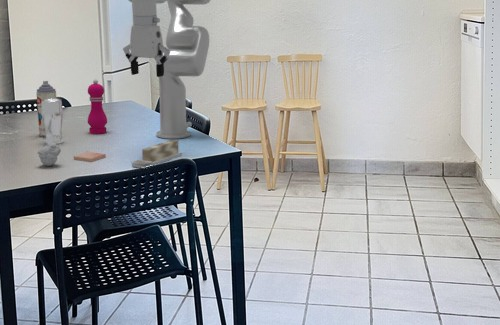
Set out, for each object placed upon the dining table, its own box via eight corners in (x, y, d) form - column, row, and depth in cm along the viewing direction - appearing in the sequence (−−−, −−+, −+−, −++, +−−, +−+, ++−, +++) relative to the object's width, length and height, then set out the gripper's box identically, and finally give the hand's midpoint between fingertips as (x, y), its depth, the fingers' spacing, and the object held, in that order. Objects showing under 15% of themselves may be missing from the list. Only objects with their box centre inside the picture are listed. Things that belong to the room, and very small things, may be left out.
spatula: (168, 151, 216) (168, 139, 215) (181, 152, 214) (181, 140, 213) (131, 164, 199) (130, 151, 198) (144, 166, 197) (144, 153, 196)
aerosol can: (38, 134, 244) (34, 80, 239) (57, 133, 247) (54, 79, 242) (40, 137, 238) (36, 82, 233) (59, 136, 241) (56, 81, 236)
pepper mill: (105, 134, 245) (102, 80, 240) (86, 134, 245) (83, 80, 240) (109, 130, 252) (107, 78, 247) (90, 130, 252) (88, 78, 247)
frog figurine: (61, 167, 198) (60, 144, 196) (37, 168, 196) (35, 145, 195) (62, 162, 204) (61, 140, 202) (39, 163, 202) (37, 141, 200)
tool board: (167, 153, 216) (167, 151, 216) (180, 155, 214) (180, 153, 213) (132, 166, 199) (132, 164, 199) (145, 168, 197) (145, 166, 197)
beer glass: (58, 139, 236) (55, 97, 232) (68, 142, 231) (65, 100, 228) (40, 142, 231) (37, 99, 228) (50, 145, 226) (47, 102, 223)
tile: (88, 151, 213) (73, 156, 207) (105, 154, 210) (91, 158, 204) (88, 156, 214) (73, 160, 208) (105, 158, 211) (91, 163, 205)
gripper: (174, 21, 208) (176, 75, 213) (129, 19, 215) (132, 71, 220) (161, 23, 201) (163, 79, 206) (115, 21, 208) (118, 75, 213)
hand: (147, 75), depth 213 cm, fingers open, 9 cm apart
